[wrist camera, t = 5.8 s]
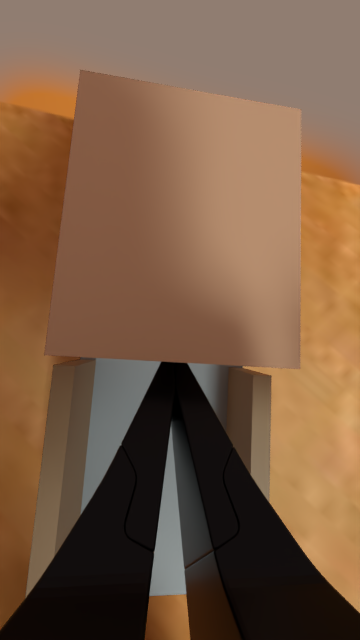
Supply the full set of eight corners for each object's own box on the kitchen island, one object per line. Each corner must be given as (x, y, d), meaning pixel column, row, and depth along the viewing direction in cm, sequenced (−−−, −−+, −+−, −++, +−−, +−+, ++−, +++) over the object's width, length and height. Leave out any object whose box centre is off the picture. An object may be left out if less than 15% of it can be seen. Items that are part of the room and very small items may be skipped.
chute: (229, 572, 16) (266, 684, 11) (62, 579, 15) (11, 709, 9) (241, 216, 19) (274, 167, 13) (102, 199, 17) (80, 138, 12)
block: (218, 354, 16) (300, 369, 7) (109, 348, 15) (44, 354, 6) (224, 232, 17) (301, 109, 8) (121, 220, 16) (80, 70, 7)
